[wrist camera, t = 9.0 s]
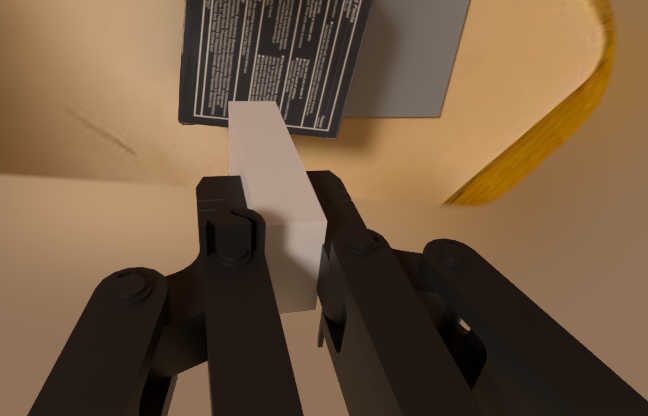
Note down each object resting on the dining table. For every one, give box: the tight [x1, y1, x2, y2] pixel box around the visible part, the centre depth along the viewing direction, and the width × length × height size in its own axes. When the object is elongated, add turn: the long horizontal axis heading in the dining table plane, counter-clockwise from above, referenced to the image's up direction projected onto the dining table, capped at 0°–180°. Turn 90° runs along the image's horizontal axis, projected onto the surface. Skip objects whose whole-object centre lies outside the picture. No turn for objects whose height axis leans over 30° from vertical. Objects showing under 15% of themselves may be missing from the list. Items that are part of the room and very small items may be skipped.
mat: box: [343, 0, 470, 117], centre depth 33 cm, size 19×16×1 cm
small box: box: [178, 0, 374, 140], centre depth 30 cm, size 11×6×10 cm
